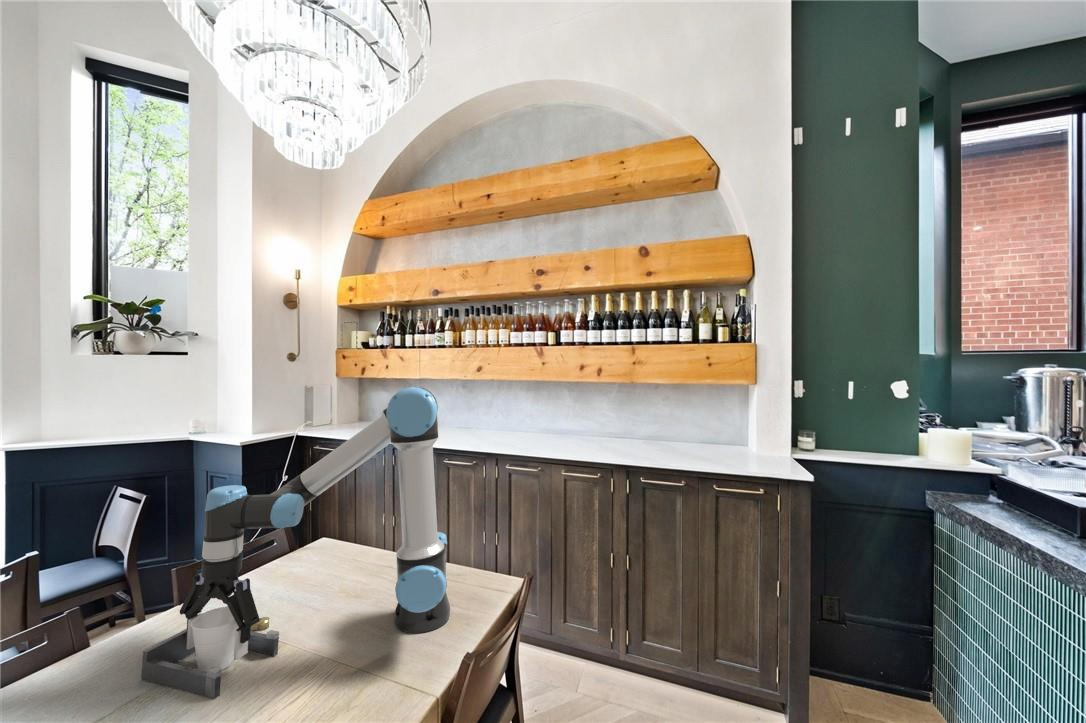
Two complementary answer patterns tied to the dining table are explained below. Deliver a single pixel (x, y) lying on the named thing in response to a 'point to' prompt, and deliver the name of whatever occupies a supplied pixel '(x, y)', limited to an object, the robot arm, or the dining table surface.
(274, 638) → the grey u-shaped bracket
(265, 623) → the brass key block
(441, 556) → the robot arm
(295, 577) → the dining table surface
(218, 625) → the cup
